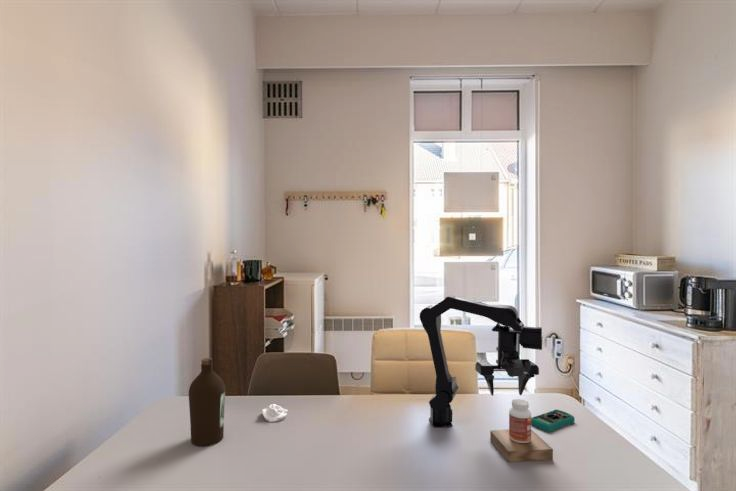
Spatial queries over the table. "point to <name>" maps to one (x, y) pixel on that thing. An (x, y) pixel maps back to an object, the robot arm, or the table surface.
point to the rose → (274, 413)
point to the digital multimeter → (552, 420)
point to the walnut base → (521, 447)
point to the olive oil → (207, 406)
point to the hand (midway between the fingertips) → (506, 394)
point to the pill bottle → (520, 421)
